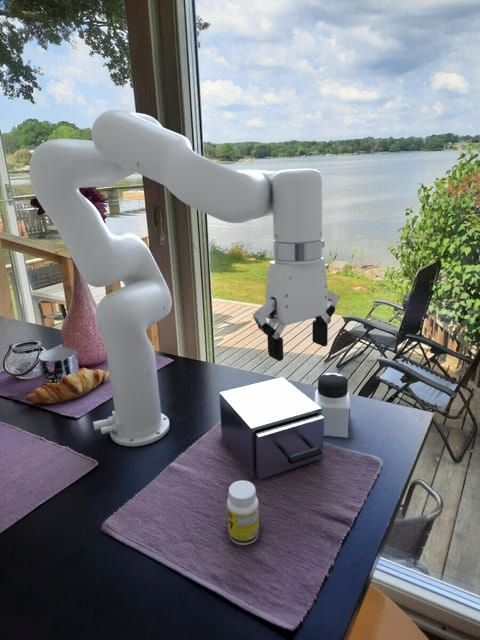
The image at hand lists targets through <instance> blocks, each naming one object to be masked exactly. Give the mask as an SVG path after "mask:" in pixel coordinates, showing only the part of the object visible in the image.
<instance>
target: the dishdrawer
mask: <svg viewBox="0 0 480 640" xmlns="http://www.w3.org/2000/svg"><path fill="white" fill-rule="evenodd" d="M314 402H315V401H313V400H312V399H311V398H310V397H308V396H307V394H304V392H302V391H301V390H299V389H298V388H297V387H296V386H295V385H293V384H292V383H291V382H289V381H288V380H287V379H286V378H284V377H283V376H281V377H278V378H274V379H269V380H265V381H261V382H257V383H253V384H249V385H245V386H240V387H237V388H232V389H229V390H228V389H227V390H224V391H220V392H219V409H220V411H219V412H220V429H221V430H220V432H221V438H222V440H223V441H224V443H225V444H226V445H227V447H228V448H229V449H230V451H231V452H232V454H233V455H234V456H235V457H236V459H237V460H238V461H239V463H240V464H241V467H243V468H244V469H245V471H246V473H247V474H248V476H249V477H250V478H251V479H252V480H253V479H256V478H258V477H257V470H256V446H255V431H257V430H260V429H264V428H267V427H271V426H274V425H278V424H281V423H285V422H288V421H292V420H295V419H299V418H302V417H306V416H309V415H312V414H313V417H314V416H318V415H322V408H321V407H320V406H318V405H317V404H316V403H314Z"/></svg>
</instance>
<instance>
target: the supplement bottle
mask: <svg viewBox="0 0 480 640" xmlns="http://www.w3.org/2000/svg"><path fill="white" fill-rule="evenodd" d="M259 506H260V505H259V499H258V496H257V491H256V487H255V485H254V483H252V482H251V481H248V480H243V479H241V480H237V481H234V482H232V483H231V484H230V486H229V488H228V497H227V500H226V512H227V514H226V515H227V532H228V537H229V539H230V540H231V541H232V542H233V543H234V544H236V545H239V546H247V545H250V544H253V543H254V542H256V541H257V539H258V538H259V535H260V515H259V511H260V510H259V509H260V508H259Z"/></svg>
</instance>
